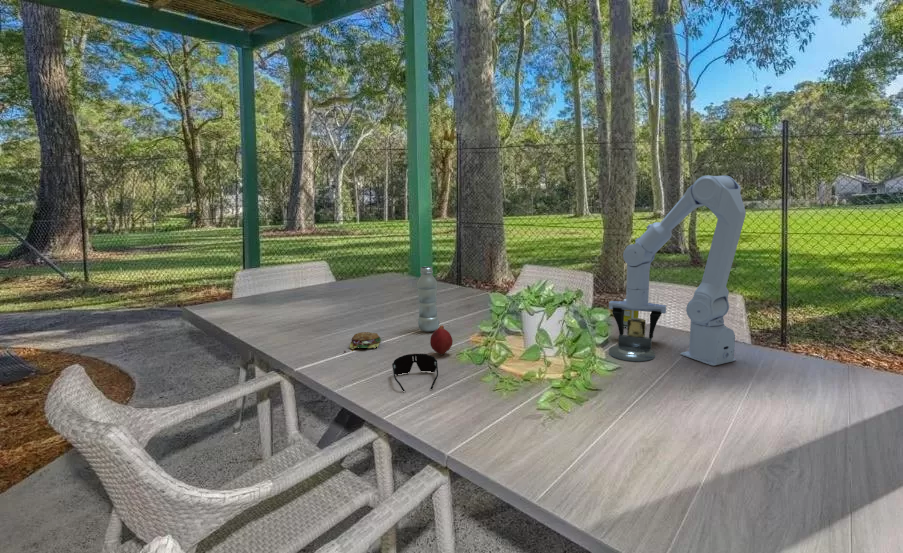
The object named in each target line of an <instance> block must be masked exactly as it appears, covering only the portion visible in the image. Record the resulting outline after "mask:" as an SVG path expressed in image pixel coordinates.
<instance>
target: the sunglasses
mask: <svg viewBox="0 0 903 553" xmlns="http://www.w3.org/2000/svg"><path fill="white" fill-rule="evenodd" d="M414 363H416V365H417V367H418V369H419V371H420V372H421V371H431V372H434V373H435V372H436V376H435V377H434V380H433V381H432V384H431V386H430V388H429V390H430V389H432V388H434V385H435V383H436V380H437V379H438V376H439V367H438V360H437V359H436V358H435V356H433V355H431V354H427V353H409V354H404V355H402V356H399V357H397V358H395V359H394V360H393V363H391V364H392V367H391V368H392V373H393V374H392V375H393V378H394V381H395V382H397V384H398V385H399V387H400V389H401V391H402V390H403V391H405V392H406V390H405V389H404V387H403V385H402V383H401V382H400V381H399V380H398V379H397V377H396V376H398V374H402V373H408V372H409V373H410V372H411V370H412V367H413V365H414ZM432 390H433V389H432ZM403 391H402V392H403Z"/></svg>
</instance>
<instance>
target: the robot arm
mask: <svg viewBox="0 0 903 553" xmlns="http://www.w3.org/2000/svg"><path fill="white" fill-rule="evenodd" d="M741 190H742V187H741V186H740V184H739V183H737V181H736V180H735V179H734V178H732V176H729V175H727V174H726V175H725V174H724V175H723V174H722V175H709V174H708V175H702V176H700V177H698V178H697V179H696V180H695V181H694V183H693V184H691V185H690V186H688V187H687V189H686V191H685V192H684V194H682V197H680V199H679V200H678V201H677V202H676V204H675V205H674V206H673V207H672V208H671V210H669V212H668V213H667V214H666V215H665V217H664V218H663V219H662V220H661V221H660V222H659V221H658V222H657V221H656V222H653V223H650V224H648V225H647V226H646V227H645V228H646V231H644V232H643V234H641V235H640V237H637V238H636V239H635V240H634V241H635V243H634V244H633V243H632V244H628V245H627V246H626V247H625V249H624V250H623V253H622V254H623V255H622V257H623V261H624V262H625V263H626V289H625V290H626V291H625V292H626V294H625V296H626V297H625V299H626V301H624V300H622V301H621V300H619V301H617V300H610V301H609V302H608V309H609V310H612V316H613V317H614V320H615V322H616V324H617V328H618V333H619V335H624V332H625V331H624V328H625V327H624V324H623V321H624V310H634V311H639V312H648V313H650V314H649V334H648V338H652V339H653V336H654V332H655V328H656V326H657V323H658V320H659V319H660V317H661V316H662V314H666V313H667V305H666V304H658V303H652V302H649V300H650V298H649V295H650V273H651V272H650V269H651V263H652V262H653V261H654V259H655V257H656V253H658V251H659V250H661V249H662V248H663V247H664V245H665V244H666V243H668V241H669V240H670V239H671V238H672V236H673V235H672V233H673V232H672V231H673V230H674V228H676V227H677V226H678V225H679V224H681V222H682V221H683V220H684V219H686V218H687V216H689V215H690V214H691V213H692V212H693V211H694V210H695V209H697V208H701V207H704V206H705V207H706V208H708V209H709V211H711V212H712V213H713V215H714V216H715V217H716V218H717V219H716V220H717V221H716V224H715V227H714V228H715V229H714V233H713V236H712V240H711V244H710V248H709V250H708V251H709V252H708V256H707V260H706V262H705V268H704V271H703V275H702V279H701V281H700V284H699V286H698V287H697V288H696V289H695V291H694V293H693V297H692V298H691V299H690V300H689V302H688V303H687V304H686V308H685V311H686V314H687V317H688V318H689V320H690V324H689V325H690V326H689V327H690V328H689V344H688V347H689V348H688V350H687V351H683V352H680V355H681V356H684V357H687V358H689V359H692V360H695V361H698V362H700V363H704V364H707V365H710V366H712V367H713V366H718V365H723V364H727V363H731V362H736V361H737V358H735V344H736V335H735V331H734V330H733V329H732V328H730V327H727V325H725V320H724V316H726V315H727V313H728V312H729V309H730V302H729V295H730V294H729V293H730V292H729V291H730V290H729V289H728V288H727V284H728V280H729V277H730V272H731V270H732V266H733V262H734V259H735V256H736V252H737V248H738V243H739V240H740V236H741V233H742V229H743V225H744V222H745V219H746V213H747V212H746V208H745V204H744V202H743V198H742V195H741Z"/></svg>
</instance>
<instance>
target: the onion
mask: <svg viewBox="0 0 903 553" xmlns="http://www.w3.org/2000/svg"><path fill="white" fill-rule="evenodd" d="M444 327H445V326H444V325H443V324H442V325H439V326H438V328H437V330H435V331H432V334H431V336H430V341H429V342H430V343H429V344H430V347H431V349H432V350H433V351H435V352H436V353H438V354H439V355H441V354H443V355H445V354H446V353H447V352H448V351H449V350H450V349H451V347H452V346H453V337H452V334H451V333H450V332H449V331H448V330H447V329H445V328H444Z"/></svg>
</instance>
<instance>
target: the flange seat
mask: <svg viewBox="0 0 903 553" xmlns="http://www.w3.org/2000/svg"><path fill="white" fill-rule="evenodd" d="M652 339H653V337H652V338H649V336H648V337H647V336H645V337H638V336H629V335H627V334H623V335H620V334H619V335H618V342H617V343H618V345H613V346H611V347H610V348H608V354H609V356H610V357H612V358H614V359H615V360H616V359H617V360H621V361H625V362H633V363H634V362H635V363H641V362H649V361H652V360H654V359H655V358H656V352H655V351H654V350H653V349H652V342H653V341H652Z"/></svg>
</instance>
